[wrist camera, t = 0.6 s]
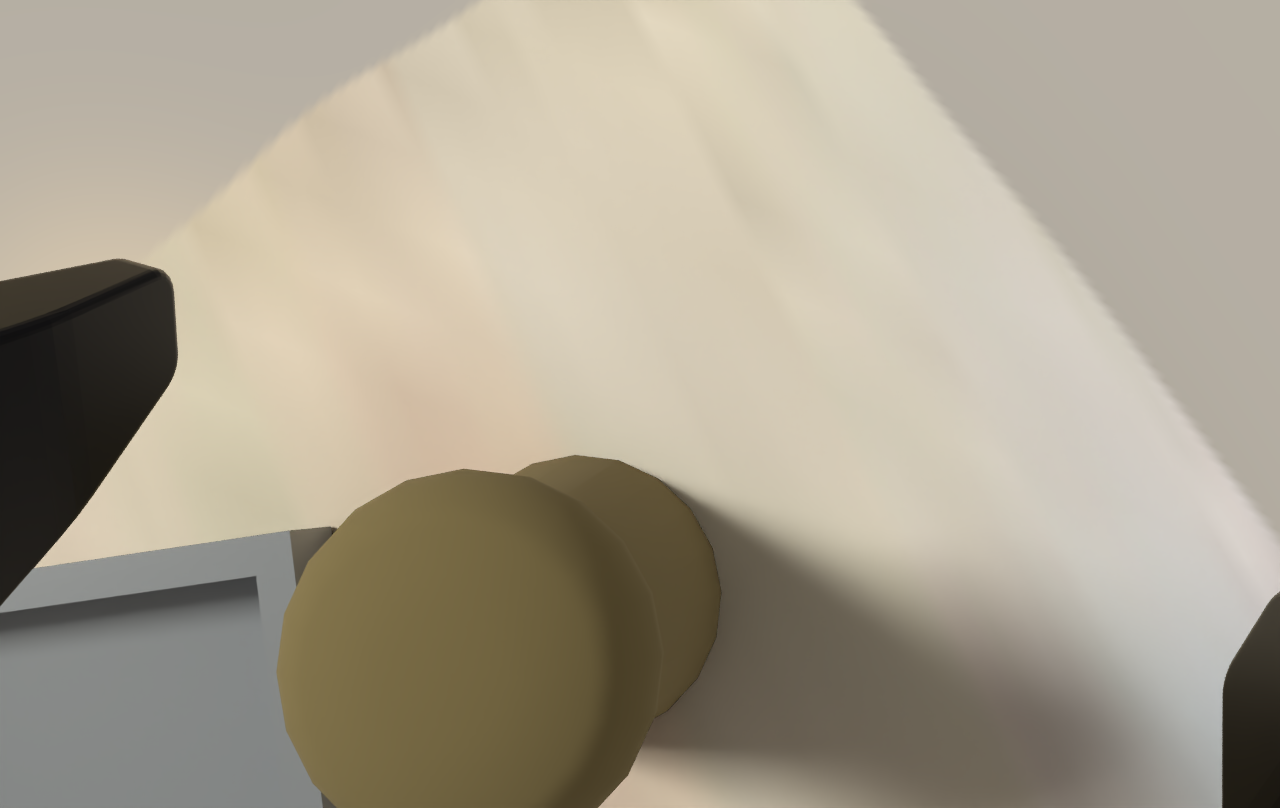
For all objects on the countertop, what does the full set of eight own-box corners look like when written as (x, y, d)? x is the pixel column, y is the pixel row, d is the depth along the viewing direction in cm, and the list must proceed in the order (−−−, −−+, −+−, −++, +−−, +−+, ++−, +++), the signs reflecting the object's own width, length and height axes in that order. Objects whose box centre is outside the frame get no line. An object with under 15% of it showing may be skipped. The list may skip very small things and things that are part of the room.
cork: (542, 401, 26) (377, 340, 15) (777, 558, 25) (781, 615, 14) (388, 632, 26) (113, 740, 15) (618, 797, 25) (501, 1036, 14)
